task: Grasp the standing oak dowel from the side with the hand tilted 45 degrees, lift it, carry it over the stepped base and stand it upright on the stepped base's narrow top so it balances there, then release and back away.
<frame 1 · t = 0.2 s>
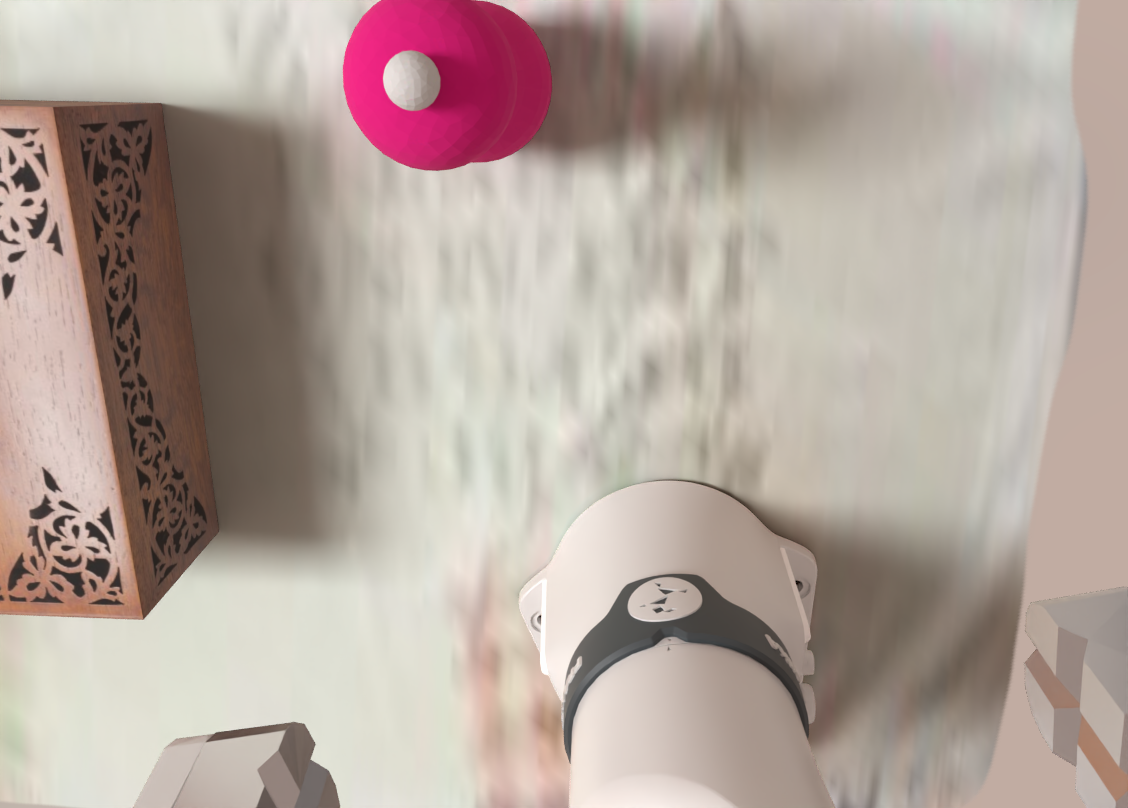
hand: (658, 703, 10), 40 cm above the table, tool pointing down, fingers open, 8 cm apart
pepper mill: (487, 84, 45), on the table
tissue box cover: (76, 330, 51), on the table
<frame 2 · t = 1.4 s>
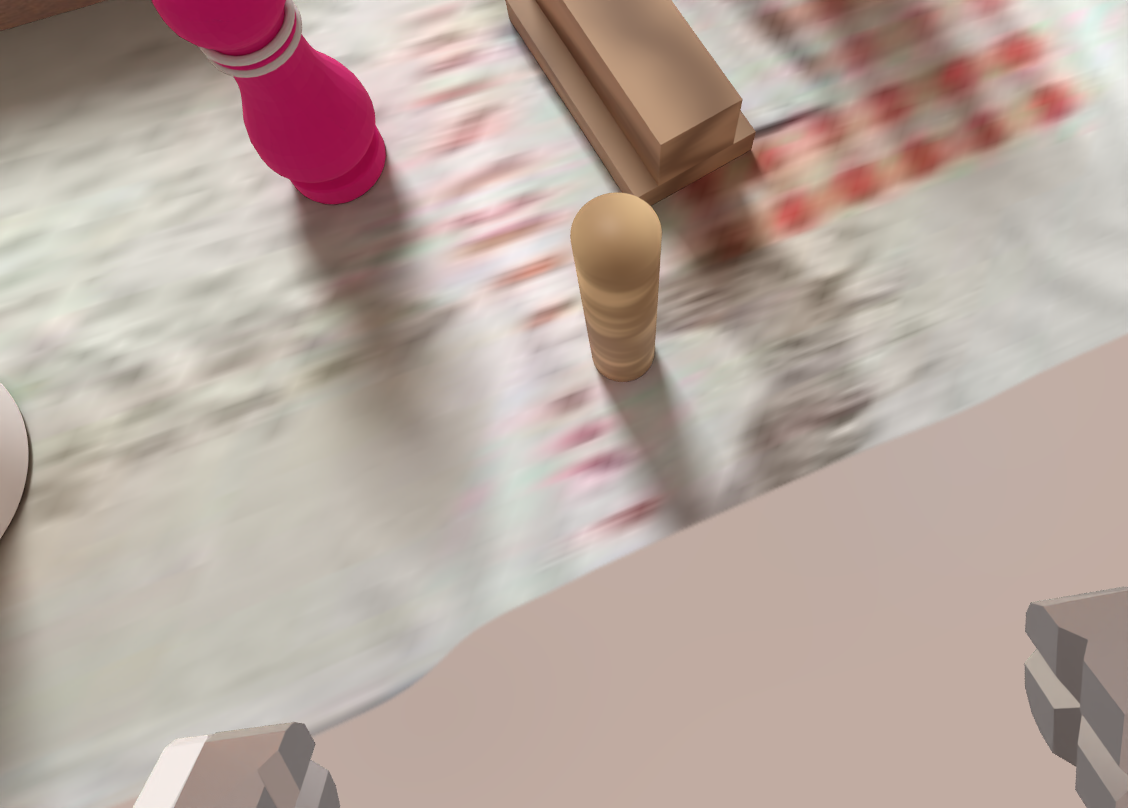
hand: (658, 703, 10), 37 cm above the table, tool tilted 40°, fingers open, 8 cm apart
stepped base: (626, 82, 53), on the table
pepper mill: (338, 161, 54), on the table
dowel: (623, 351, 49), on the table
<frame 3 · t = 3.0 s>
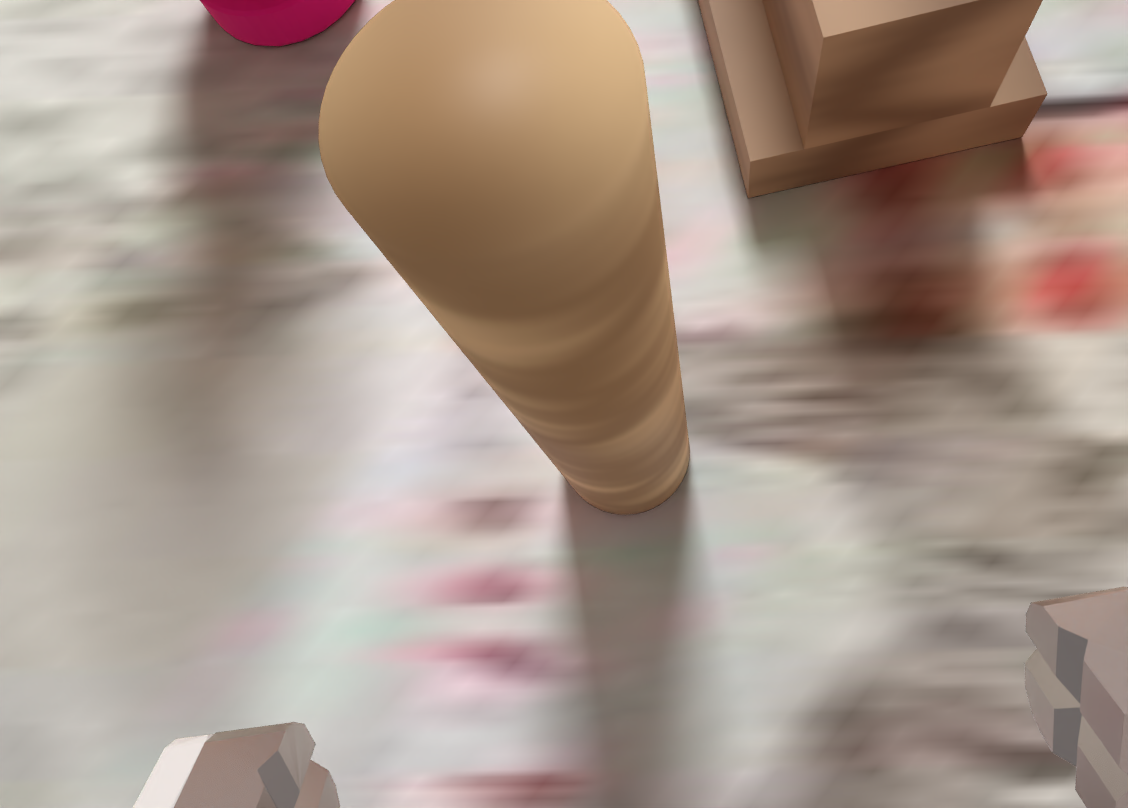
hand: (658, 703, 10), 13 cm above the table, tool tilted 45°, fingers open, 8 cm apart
dowel: (625, 451, 24), on the table
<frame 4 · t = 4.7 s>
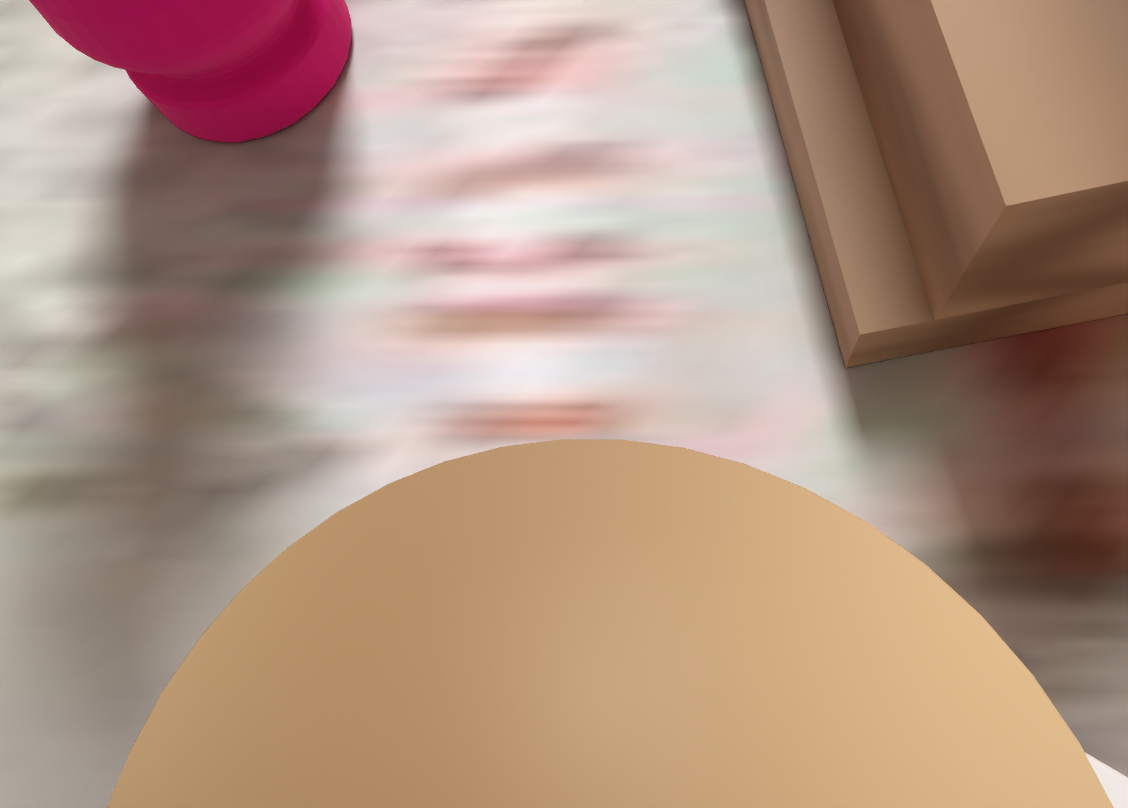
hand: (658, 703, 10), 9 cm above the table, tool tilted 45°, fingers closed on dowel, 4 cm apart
stepped base: (924, 46, 22), on the table
pepper mill: (256, 58, 25), on the table
dowel: (688, 724, 18), on the table, touching gripper
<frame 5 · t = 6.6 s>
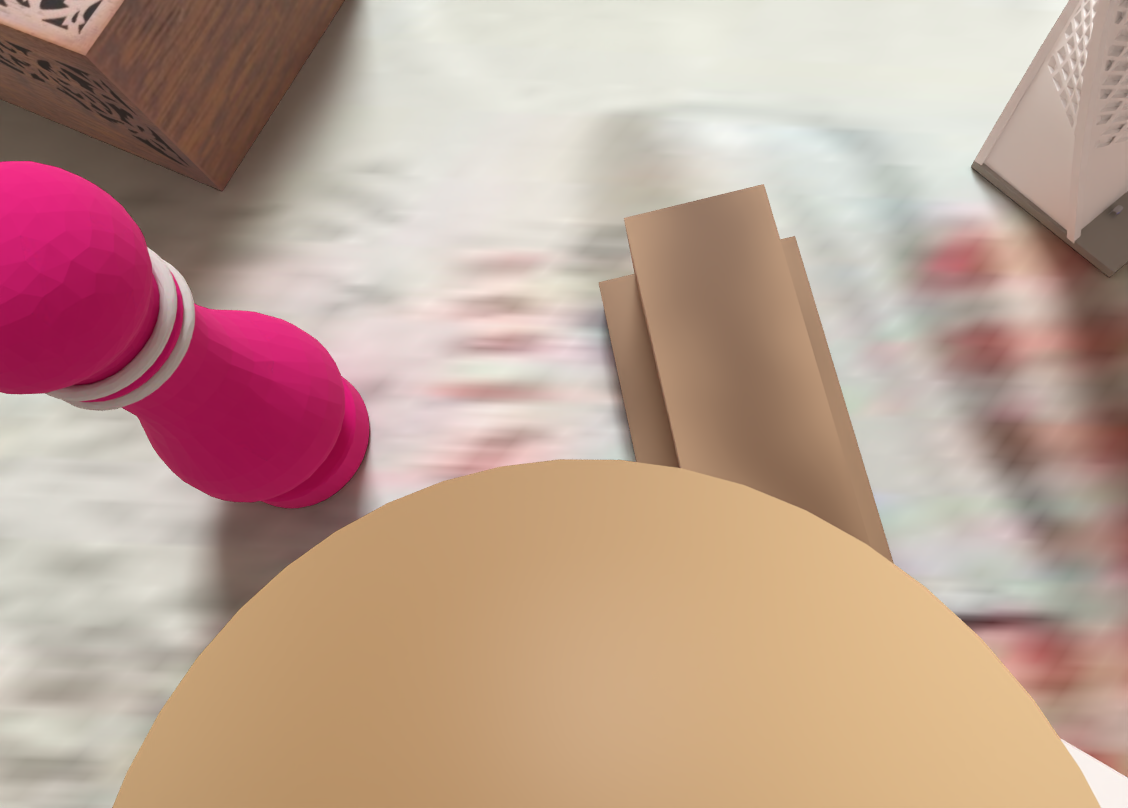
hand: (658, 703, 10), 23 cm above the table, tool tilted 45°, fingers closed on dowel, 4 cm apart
stepped base: (741, 460, 34), on the table
pepper mill: (304, 439, 37), on the table
tissue box cover: (115, 13, 47), on the table
skyscraper: (1074, 172, 35), on the table
dowel: (687, 728, 18), point 14 cm above the table, touching gripper
when the fingers open (16 cm above the table, at t = 8.8 s): dowel stays where it is, resting on stepped base.
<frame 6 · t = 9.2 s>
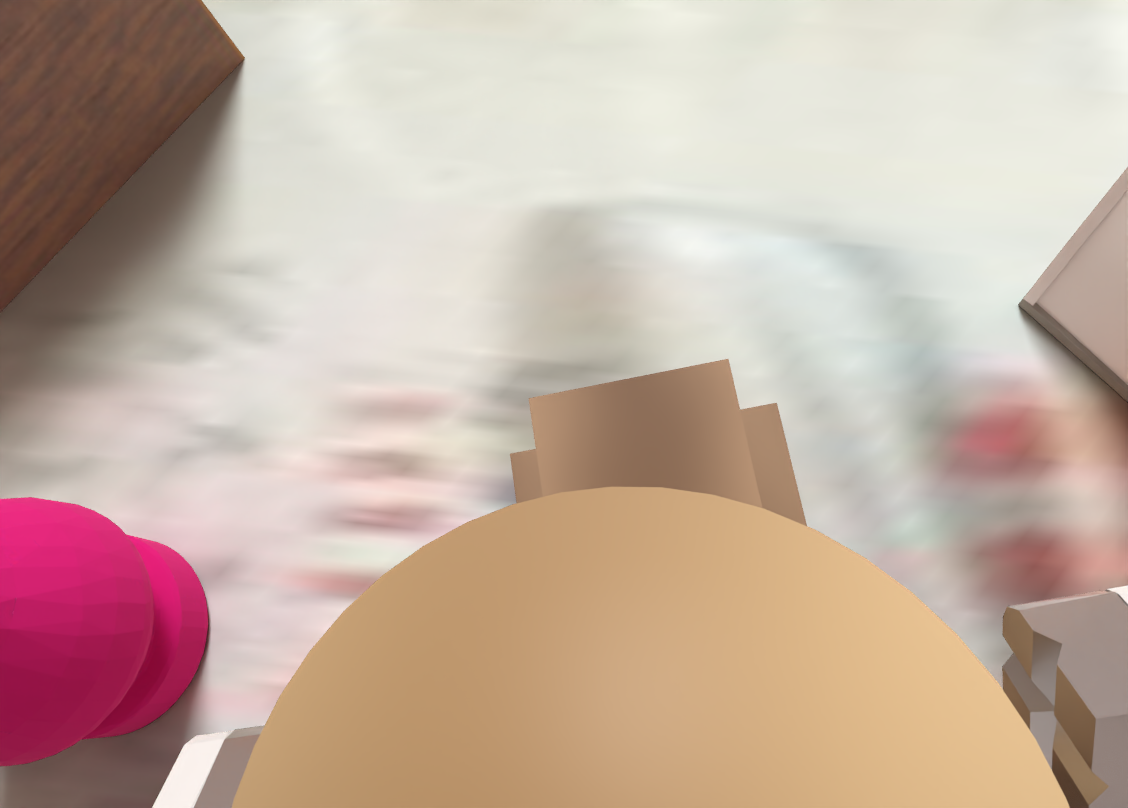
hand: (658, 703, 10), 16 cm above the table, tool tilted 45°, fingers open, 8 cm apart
stepped base: (695, 710, 25), on the table
pepper mill: (126, 635, 28), on the table
dowel: (688, 725, 18), point 7 cm above the table, touching stepped base
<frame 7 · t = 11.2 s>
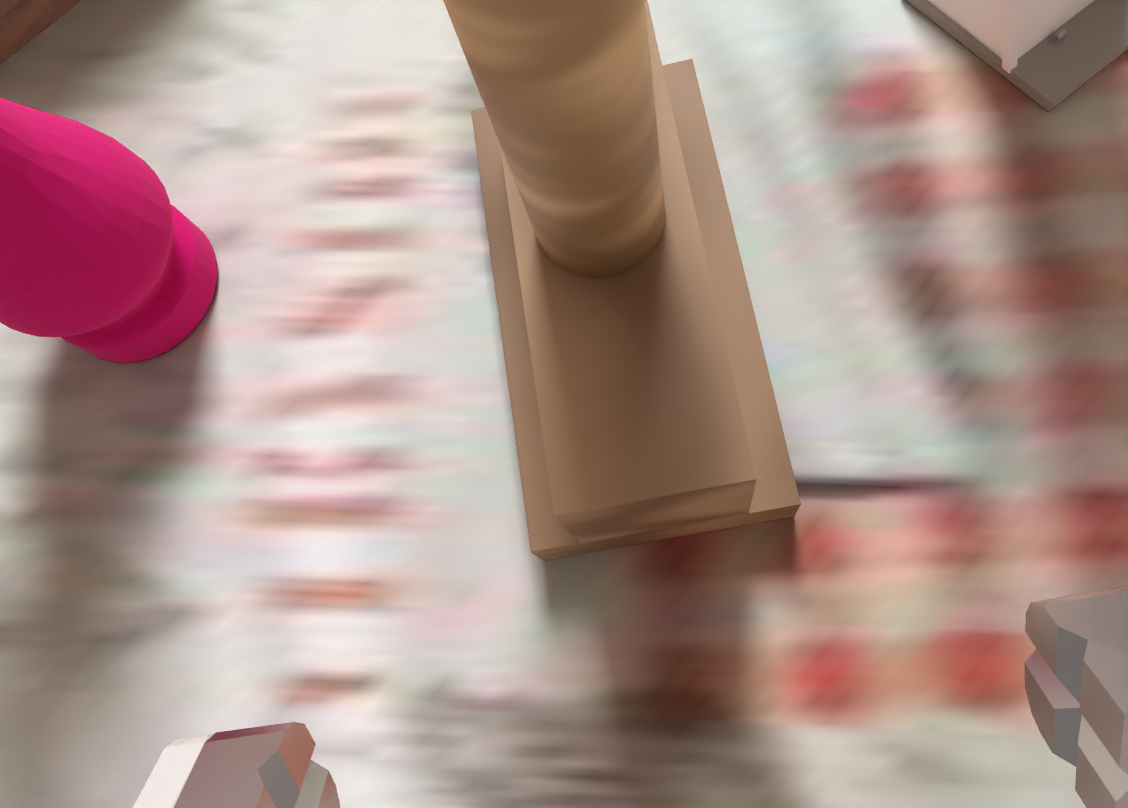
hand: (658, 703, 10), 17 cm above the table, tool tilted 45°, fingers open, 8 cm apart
stepped base: (623, 310, 30), on the table
pepper mill: (147, 291, 33), on the table
skyscraper: (1016, 1, 31), on the table
dowel: (599, 218, 23), point 7 cm above the table, touching stepped base
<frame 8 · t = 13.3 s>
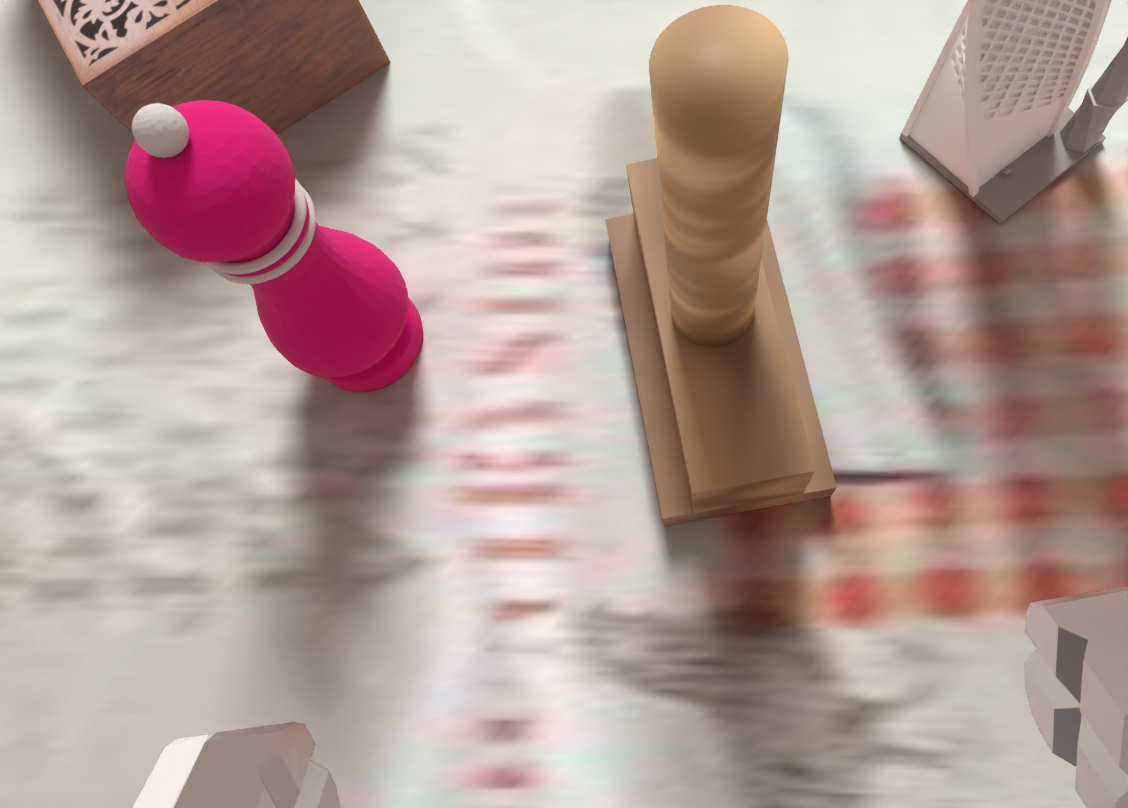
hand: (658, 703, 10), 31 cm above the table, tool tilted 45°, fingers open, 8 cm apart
stepped base: (712, 358, 44), on the table
pepper mill: (370, 340, 47), on the table
tissue box cover: (213, 0, 57), on the table
skyscraper: (979, 143, 45), on the table
dowel: (712, 308, 38), point 7 cm above the table, touching stepped base
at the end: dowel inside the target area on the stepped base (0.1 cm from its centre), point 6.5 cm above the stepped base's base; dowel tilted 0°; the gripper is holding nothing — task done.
